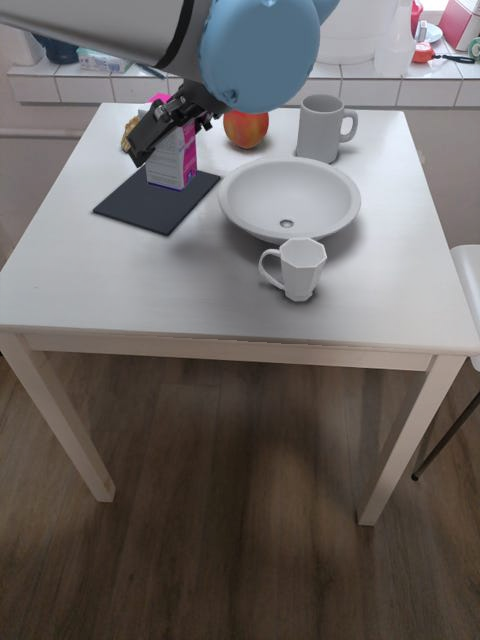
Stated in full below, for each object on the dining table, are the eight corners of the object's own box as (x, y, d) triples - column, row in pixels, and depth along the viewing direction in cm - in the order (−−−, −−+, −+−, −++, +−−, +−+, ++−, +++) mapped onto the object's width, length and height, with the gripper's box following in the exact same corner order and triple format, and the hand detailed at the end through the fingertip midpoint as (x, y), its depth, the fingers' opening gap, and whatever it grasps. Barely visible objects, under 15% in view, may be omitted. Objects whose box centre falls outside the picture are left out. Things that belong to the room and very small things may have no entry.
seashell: (125, 149, 110) (129, 102, 107) (161, 156, 111) (166, 109, 108) (117, 151, 102) (120, 99, 98) (156, 158, 103) (161, 106, 99)
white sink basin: (191, 233, 85) (188, 201, 80) (269, 173, 98) (271, 142, 93) (308, 291, 76) (312, 259, 71) (378, 216, 88) (386, 185, 83)
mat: (93, 212, 90) (92, 209, 89) (152, 160, 102) (151, 157, 101) (167, 236, 85) (167, 233, 85) (220, 178, 97) (220, 176, 96)
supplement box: (182, 193, 71) (174, 116, 62) (146, 185, 72) (134, 109, 64) (199, 173, 74) (194, 98, 66) (165, 165, 76) (155, 91, 67)
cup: (315, 312, 73) (321, 273, 67) (251, 297, 75) (252, 257, 69) (325, 281, 77) (332, 242, 71) (265, 268, 79) (266, 228, 73)
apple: (275, 152, 104) (277, 105, 96) (232, 160, 101) (232, 113, 94) (258, 131, 110) (259, 85, 102) (218, 138, 107) (216, 92, 100)
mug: (300, 167, 100) (305, 114, 91) (292, 145, 105) (296, 94, 97) (357, 163, 100) (367, 111, 92) (347, 142, 106) (355, 91, 98)
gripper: (171, 129, 49) (112, 199, 68) (306, 71, 58) (220, 147, 78) (131, 57, 47) (83, 150, 67) (276, 10, 56) (196, 103, 76)
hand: (156, 148), depth 72 cm, fingers closed on supplement box, 7 cm apart
